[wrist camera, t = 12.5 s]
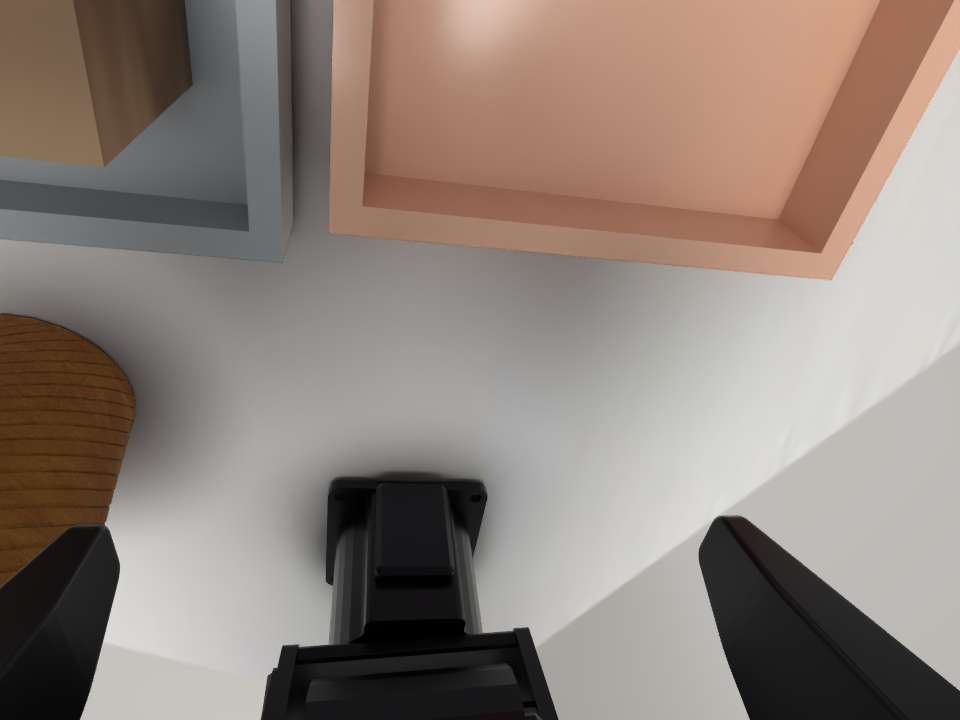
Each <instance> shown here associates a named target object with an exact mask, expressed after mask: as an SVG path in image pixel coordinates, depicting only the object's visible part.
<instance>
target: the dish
mask: <svg viewBox="0 0 960 720" xmlns="http://www.w3.org/2000/svg"><path fill="white" fill-rule="evenodd" d="M959 49H960V0H334V1H333V49H332V96H331V144H330V191H329V233H333V234H343V235H354V236H365V237H375V238H386V239H397V240H407V241H418V242H429V243H439V244H450V245H461V246H471V247H482V248H493V249H504V250H514V251H525V252H536V253H546V254H557V255H568V256H578V257H589V258H600V259H610V260H621V261H632V262H642V263H653V264H664V265H674V266H685V267H696V268H706V269H717V270H728V271H739V272H749V273H760V274H771V275H781V276H792V277H803V278H813V279H824V280H832V278H833V277H834V275H835V273H836V271H837V269H838V268H839V266H840V264H841V262H842V260H843V259H844V257H845V255H846V253H847V251H848V249H849V248H850V246H851V244H852V242H853V240H854V239H855V237H856V235H857V233H858V231H859V230H860V228H861V226H862V224H863V222H864V221H865V219H866V217H867V215H868V213H869V211H870V210H871V208H872V206H873V204H874V202H875V201H876V199H877V197H878V195H879V193H880V192H881V190H882V188H883V186H884V184H885V183H886V181H887V179H888V177H889V175H890V173H891V172H892V170H893V168H894V166H895V164H896V163H897V161H898V159H899V157H900V155H901V154H902V152H903V150H904V148H905V146H906V145H907V143H908V141H909V139H910V137H911V135H912V134H913V132H914V130H915V128H916V126H917V125H918V123H919V121H920V119H921V117H922V116H923V114H924V112H925V110H926V108H927V107H928V105H929V103H930V101H931V99H932V98H933V96H934V94H935V92H936V90H937V88H938V87H939V85H940V83H941V81H942V79H943V78H944V76H945V74H946V72H947V70H948V69H949V67H950V65H951V63H952V61H953V60H954V58H955V56H956V54H957V52H958V50H959Z"/></svg>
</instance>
